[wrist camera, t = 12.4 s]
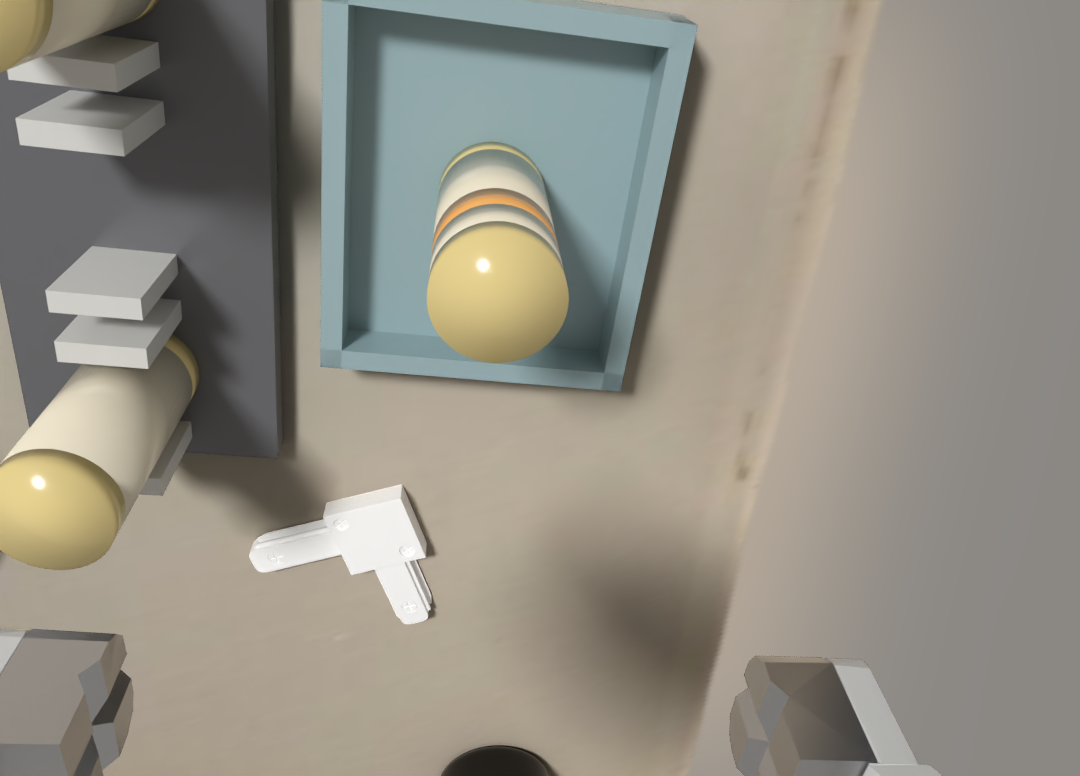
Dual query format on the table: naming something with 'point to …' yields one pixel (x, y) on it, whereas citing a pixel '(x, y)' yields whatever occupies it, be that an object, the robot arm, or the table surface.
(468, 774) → the supplement bottle
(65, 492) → the fuse
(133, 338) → the clip block
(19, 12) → the fuse
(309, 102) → the table surface
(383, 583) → the corner connector
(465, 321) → the cylinder
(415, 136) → the tray
